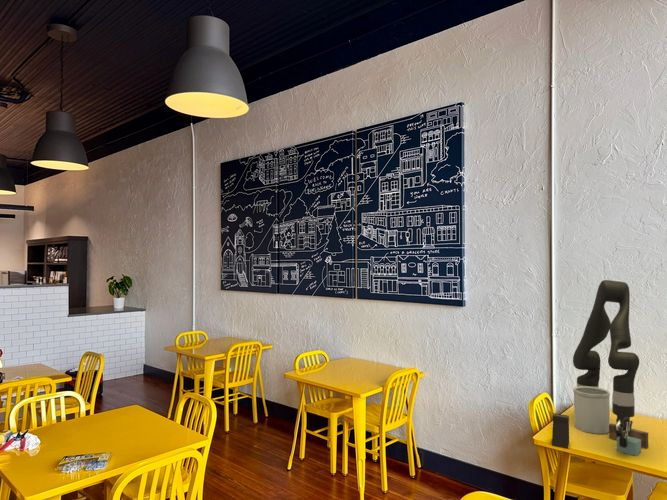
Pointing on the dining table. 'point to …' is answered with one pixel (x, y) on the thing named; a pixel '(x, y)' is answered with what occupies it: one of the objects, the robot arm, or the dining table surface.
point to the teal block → (630, 446)
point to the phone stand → (560, 431)
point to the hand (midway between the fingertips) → (623, 446)
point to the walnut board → (631, 435)
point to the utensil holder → (591, 409)
